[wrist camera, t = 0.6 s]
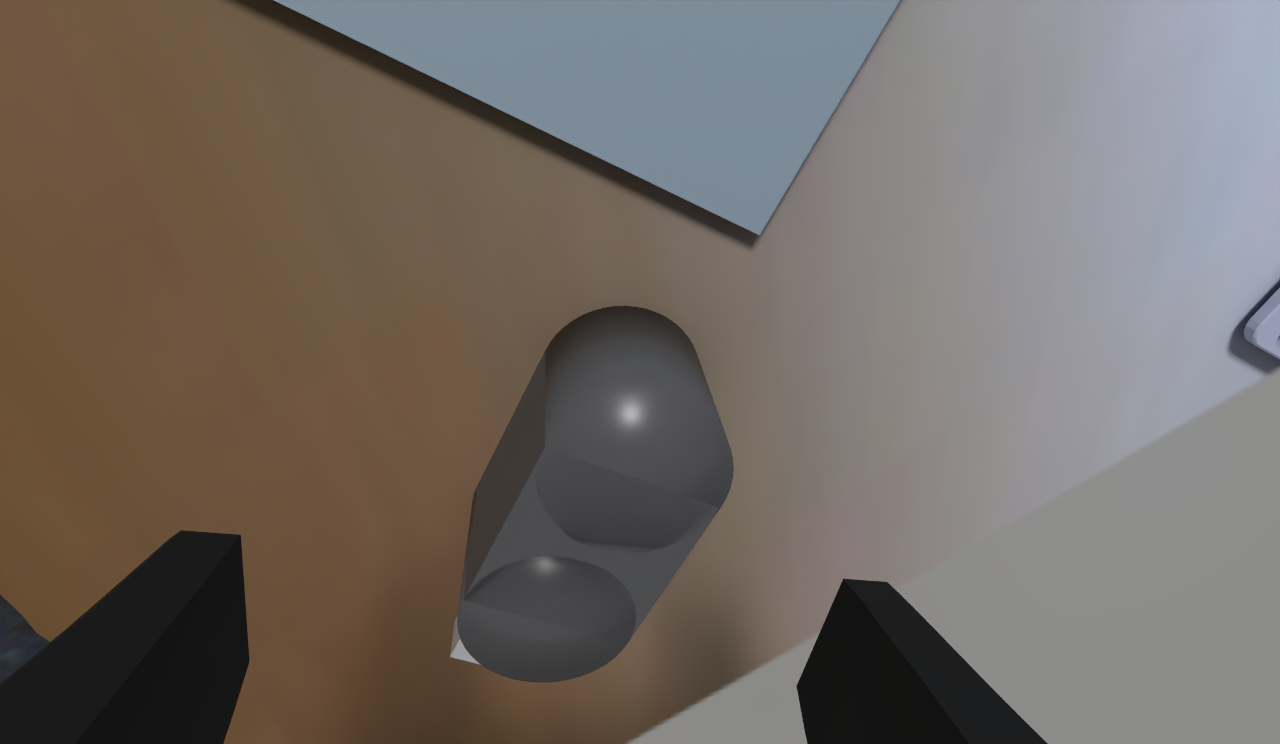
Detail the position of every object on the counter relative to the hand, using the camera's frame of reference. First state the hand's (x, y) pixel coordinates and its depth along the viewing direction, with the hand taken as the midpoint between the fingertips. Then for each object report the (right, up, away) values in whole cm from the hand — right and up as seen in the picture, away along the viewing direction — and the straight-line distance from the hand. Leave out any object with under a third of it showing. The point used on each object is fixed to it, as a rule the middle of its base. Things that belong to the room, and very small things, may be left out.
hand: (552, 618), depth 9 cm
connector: (0, +1, +10) cm, 11 cm away
